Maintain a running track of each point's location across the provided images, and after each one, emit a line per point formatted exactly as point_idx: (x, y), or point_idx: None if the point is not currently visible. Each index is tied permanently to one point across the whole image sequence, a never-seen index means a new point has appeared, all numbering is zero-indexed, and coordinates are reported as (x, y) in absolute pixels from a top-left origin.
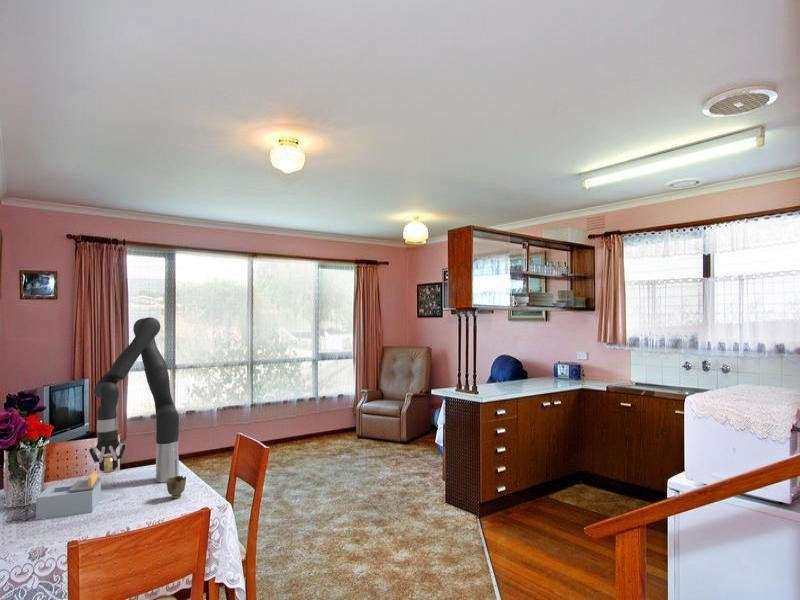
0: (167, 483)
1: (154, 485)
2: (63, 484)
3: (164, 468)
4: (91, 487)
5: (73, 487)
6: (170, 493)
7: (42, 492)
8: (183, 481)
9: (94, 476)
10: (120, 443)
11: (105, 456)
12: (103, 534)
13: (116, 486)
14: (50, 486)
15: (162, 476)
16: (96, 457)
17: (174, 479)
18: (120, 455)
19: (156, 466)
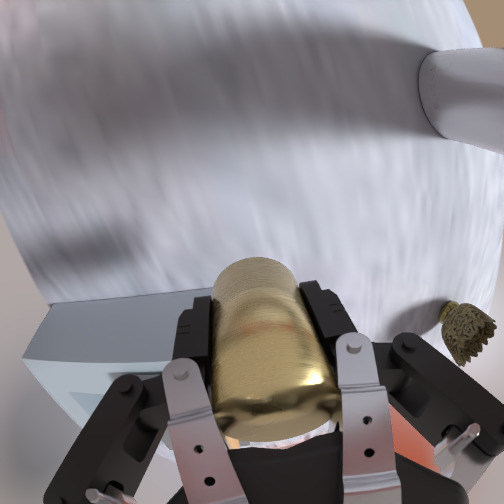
0: (453, 357)
1: (418, 156)
2: (65, 365)
3: (494, 151)
4: (243, 445)
5: (168, 438)
6: (442, 337)
7: (66, 412)
8: (479, 345)
9: (234, 444)
10: (464, 491)
11: (238, 416)
12: (300, 441)
13: (239, 90)
14: (34, 368)
15: (460, 139)
16: (128, 413)
17: (478, 321)
18: (401, 397)
19: (477, 111)
